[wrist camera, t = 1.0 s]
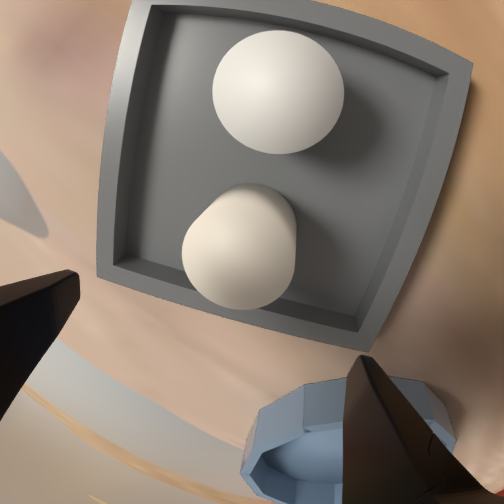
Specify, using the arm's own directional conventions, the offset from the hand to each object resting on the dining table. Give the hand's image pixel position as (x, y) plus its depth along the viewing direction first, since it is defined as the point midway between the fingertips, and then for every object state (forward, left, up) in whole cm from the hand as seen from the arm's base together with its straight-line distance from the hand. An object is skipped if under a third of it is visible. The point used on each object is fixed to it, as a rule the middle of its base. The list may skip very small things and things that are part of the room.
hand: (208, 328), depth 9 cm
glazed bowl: (-13, +18, -10) cm, 24 cm away
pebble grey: (0, -7, -9) cm, 12 cm away
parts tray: (0, -3, -10) cm, 10 cm away
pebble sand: (0, 0, -9) cm, 9 cm away
